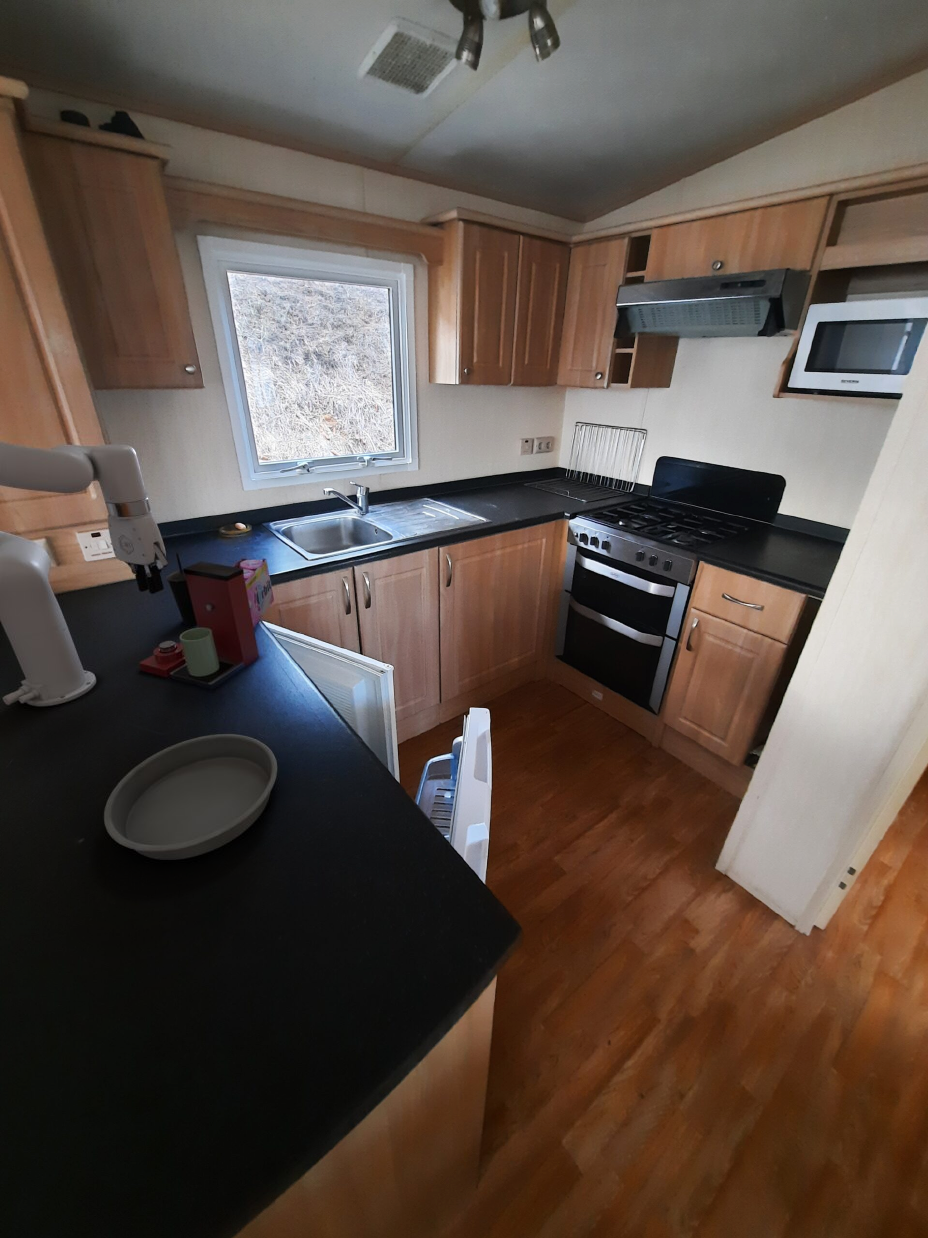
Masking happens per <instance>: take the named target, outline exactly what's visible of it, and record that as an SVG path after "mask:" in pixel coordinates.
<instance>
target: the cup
mask: <svg viewBox="0 0 928 1238" xmlns="http://www.w3.org/2000/svg"><path fill="white" fill-rule="evenodd" d="M179 641H180V642H179V643H180V644H181V645H182V649H183V653H184V657H185V661H186V664H187V668H188V671H189V674H190V675H192V676H206V675H209V674H212V673H214V672H216V671H217V670H218V669H219V667H220V665H219V660H218V655H217V651H216V647H215V642H214V638H213V634H212V630H210V629H209V628H198V627H195V628H194V627H193V628H191V629H188V630H186V631H183V632H182V633H181V634H180V635H179Z"/></svg>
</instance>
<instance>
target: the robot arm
mask: <svg viewBox="0 0 928 1238" xmlns="http://www.w3.org/2000/svg"><path fill="white" fill-rule="evenodd" d="M92 482H98V483H99V487H100V490H101V493H102V497H103V500H104V503H105V507H106V510H107V513H108V514H107V526H108V528H107V529H108V533H109V538H110V543H111V546H112V550H113V554H114V556H115V558H116V559H117V560H118V561H121V562H124V563H125V564H126V565H128V567H129V568H130V571H131V573H132V574H133V575H134V577H135V579H136V584H137V588H138V591H139V592H141V593H143V592H146V591H148V592H149V594H151V595H154V594H157V593H159V592H162V591H163V590H164V589H165V588H164V587H165V586H164V583H163V579H162V576H161V574H162V573H163V572H162V570H163V569H164V568H166V567H168V566H169V563H168V561H167V559H166V557H167V552H166V548H165V544H164V541H163V540H164V539H163V537H162V534H161V531H160V529H159V526H158V524H157V521H156V519H155V517H154V515H153V512H152V509H151V505H150V501H149V497H148V493H147V489H146V486H145V481H144V478H143V474H142V469H141V466H140V463H139V458H138V455H137V452H136V450H135V448H133V446H131V445H128V444H123V443H122V444H121V443H111V444H110V443H109V444H100V445H81V444H79V445H77V444H60V445H57V446H54V447H52V448H51V449H49V448H47V449H46V448H39V447H34V446H26V445H25V446H24V445H19V444H15V443H9V442H4V441H0V486H2V487H7V488H11V489H12V488H13V489H19V490H26V491H36V492H46V493H56V494H76V493H80V492H83V491H84V490H85V491H86V490H87V489H88V488H89V487H90V486H91V484H92ZM50 570H51V558H50V555H49V553H48V552H47V550H46V549H45V548H44V547H42V546H41V544H39V543H37V542H35V541H33V540H30V539H28V538H25V537H22V536H20V535H16V534H12V533H9V532H7V531H4V530H3V531H2V530H0V623H1V625H2V628H3V629H4V632H5V634H6V636H7V639H8V641H9V643H10V645H11V648H12V650H13V652H14V654H15V656H16V660H17V661H18V664H19V666H20V669H21V670H22V673H23V675H24V677H25V679H23V680H21V681H20V683H21V685H22V686H20V687H18V690H16V691H13V692H10V693H9V694H6V695H4V696H3V697H2V701H3V703H4V704H6V705H7V706H10V705H12V704H14V703H16V702H18V701H19V702H20V704H25V703H26V704H28V705H30V706H32V707H33V706H34V707H51V706H56V705H60V704H63V703H68V702H70V701H73V700H75V699H77V698H80V697H82V696H83V695H86V694H87V693H88V692H89V691H91V690H92V689H93V688H94V686H96V684H97V677H96V676H95V674H94V673H93V672H92V671H88V670H84V667H83V665H82V662H81V660H80V657H79V654H78V652H77V648H76V646H75V643H74V640H73V638H72V635H71V633H70V629H69V627H68V625H67V622H66V619H65V617H64V615H63V612H62V608H61V607H60V605H59V602H58V600H57V598H56V595H55V594H54V591H53V589H52V586H51V584H50V579H49V575H50Z"/></svg>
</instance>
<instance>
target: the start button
mask: <svg viewBox="0 0 928 1238" xmlns="http://www.w3.org/2000/svg"><path fill="white" fill-rule="evenodd" d="M175 643H176V642H175V641H174V640H166V641H163V642H160V644H159V645H158V647H160V650H161V653H163V654H164V653H170V652H173V651H175V650H176V645H175Z"/></svg>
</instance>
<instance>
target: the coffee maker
mask: <svg viewBox="0 0 928 1238" xmlns="http://www.w3.org/2000/svg"><path fill="white" fill-rule="evenodd" d="M182 570H183V571H184V574H185V577H186V581H187V585H188V589H189V593H190V597H191V601H192V605H193V609H194V613H195V618H196V622H197V624H196V625H197V628H209V629H210V630H212V634H213V638H214V642H215V647H216V651H217V655H218V660H219V665H220V667H219V669H218V670H217V671H216V672H214V673H212V674H209V675H206V676H192V675H190V674H189V671H188V668H187V664H184V665H183V666H181V667H179V668H178V669H176V670H174V671H173V672H171V673H170V676H169V677H170V679H172V680H175V681H180V682H182V683H186V684H190V685H194V686H198V687H200V688H201V687H202V688H204V689H209V690H214V689H216V688H217V687H218V686H220V685H222V684H223V683H224V682H226V681H227V680H228V679H230V678H231V677H233V676H234V675H236V674H238V673H239V672H240V671H242V670H243V669H245V668H246V667H247V666H249V665H250V664H252V663H253V662H255V661H256V660H257V659H259V658H260V653H259V649H258V644H257V638H256V634H255V633H256V632H255V627H253V622H252V616H251V611H250V606H249V600H248V595H247V590H246V585H245V579H244V570H243V568H237V567H233V566H231V565H226V564H219V563H213V562H207V561H199V562H196V563H193V564H191V565H188V566H185V567H182Z"/></svg>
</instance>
